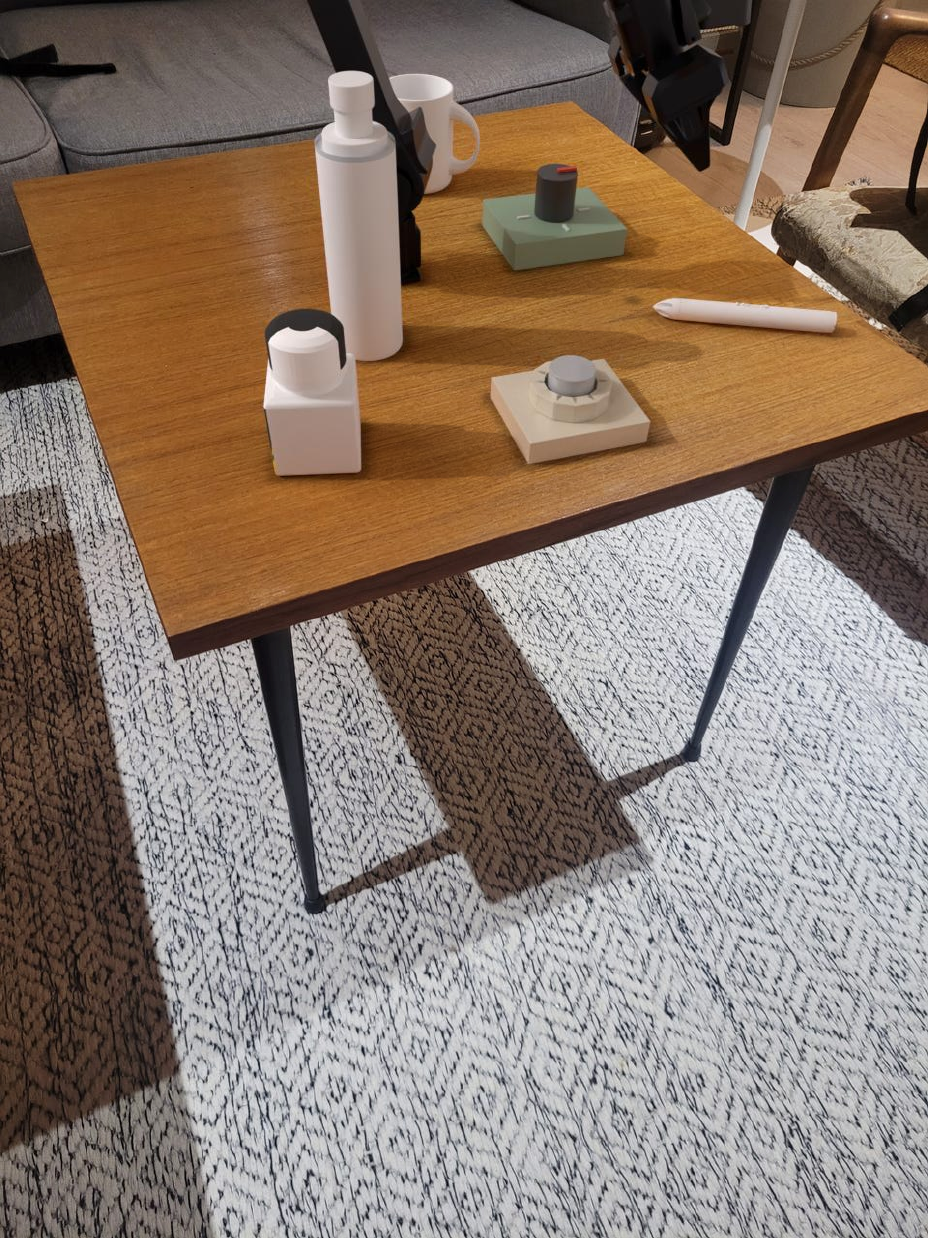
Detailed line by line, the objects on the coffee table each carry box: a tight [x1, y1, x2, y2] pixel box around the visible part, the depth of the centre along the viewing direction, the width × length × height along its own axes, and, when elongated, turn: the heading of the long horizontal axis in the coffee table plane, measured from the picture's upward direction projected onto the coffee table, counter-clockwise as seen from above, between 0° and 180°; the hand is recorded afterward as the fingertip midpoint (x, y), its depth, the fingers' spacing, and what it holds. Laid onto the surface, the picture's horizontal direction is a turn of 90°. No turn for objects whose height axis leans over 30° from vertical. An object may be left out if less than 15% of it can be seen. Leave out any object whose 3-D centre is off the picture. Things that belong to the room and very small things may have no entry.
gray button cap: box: [548, 354, 596, 397], centre depth 79 cm, size 4×4×2 cm
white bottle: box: [314, 71, 404, 362], centre depth 80 cm, size 7×7×25 cm
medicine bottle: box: [262, 308, 362, 477], centre depth 74 cm, size 7×7×12 cm
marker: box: [652, 297, 838, 334], centre depth 92 cm, size 18×2×2 cm, turn 82°
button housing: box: [490, 358, 651, 465], centre depth 80 cm, size 11×10×4 cm
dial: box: [534, 163, 579, 222], centre depth 100 cm, size 4×4×5 cm
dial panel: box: [481, 186, 628, 271], centre depth 103 cm, size 13×11×3 cm
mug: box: [389, 73, 481, 195], centre depth 110 cm, size 9×12×11 cm
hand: (690, 153), depth 86 cm, fingers open, 9 cm apart
